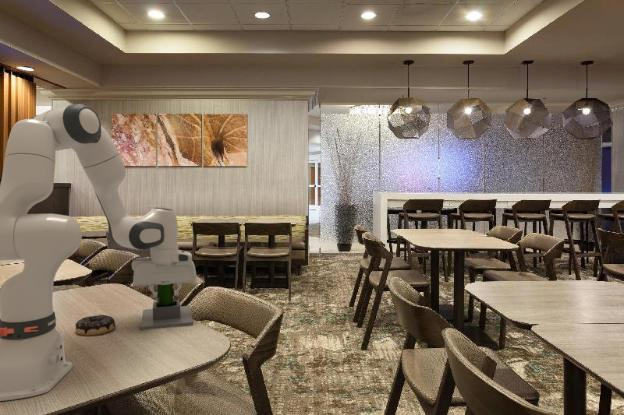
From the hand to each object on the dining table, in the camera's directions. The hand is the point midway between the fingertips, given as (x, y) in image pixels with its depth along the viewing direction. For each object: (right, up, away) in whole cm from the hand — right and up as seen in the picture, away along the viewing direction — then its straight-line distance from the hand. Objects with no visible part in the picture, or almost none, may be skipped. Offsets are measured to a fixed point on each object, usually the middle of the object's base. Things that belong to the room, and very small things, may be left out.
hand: (165, 296), depth 162 cm
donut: (-18, -9, -11) cm, 23 cm away
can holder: (0, -7, 0) cm, 7 cm away
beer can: (0, -6, +1) cm, 7 cm away
